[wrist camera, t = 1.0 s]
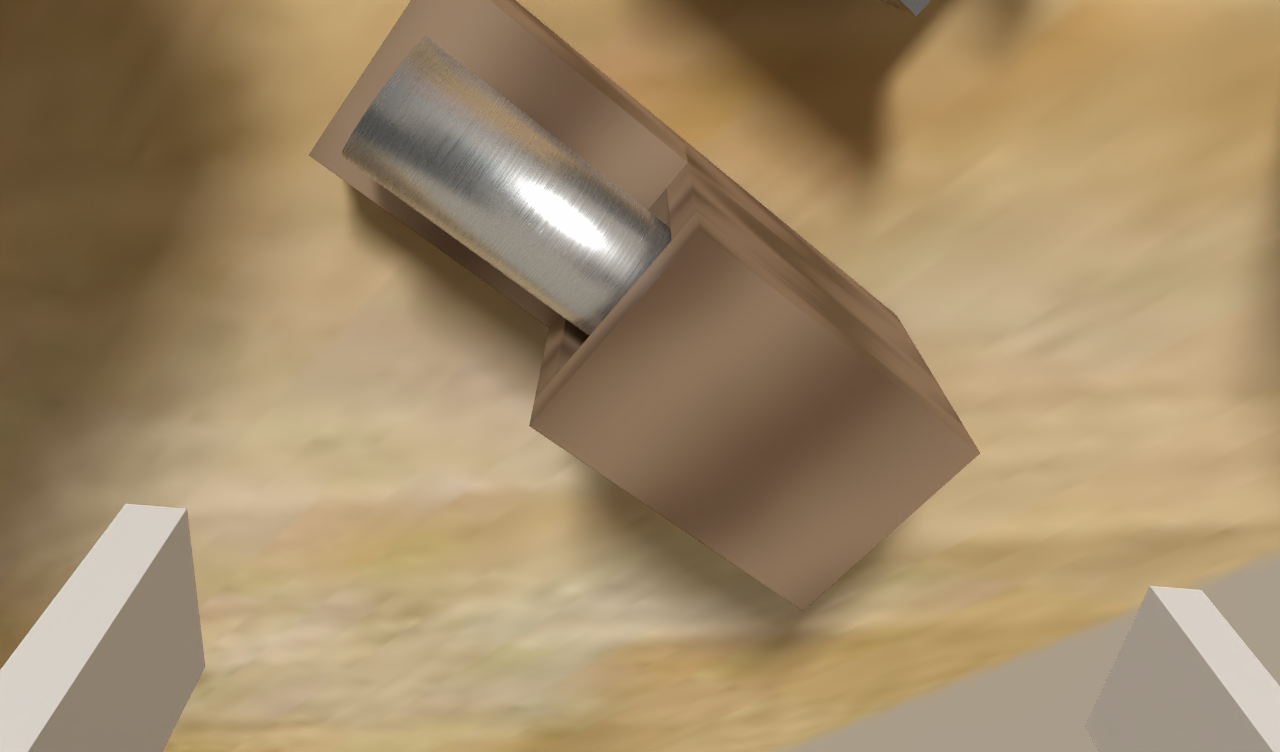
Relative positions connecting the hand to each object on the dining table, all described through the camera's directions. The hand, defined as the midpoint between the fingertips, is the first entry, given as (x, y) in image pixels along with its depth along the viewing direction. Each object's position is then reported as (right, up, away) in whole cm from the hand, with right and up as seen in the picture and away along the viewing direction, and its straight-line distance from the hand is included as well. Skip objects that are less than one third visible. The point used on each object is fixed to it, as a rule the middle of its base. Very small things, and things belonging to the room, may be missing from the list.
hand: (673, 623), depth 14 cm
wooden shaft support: (-1, +8, +20) cm, 22 cm away
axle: (0, +7, +17) cm, 19 cm away
